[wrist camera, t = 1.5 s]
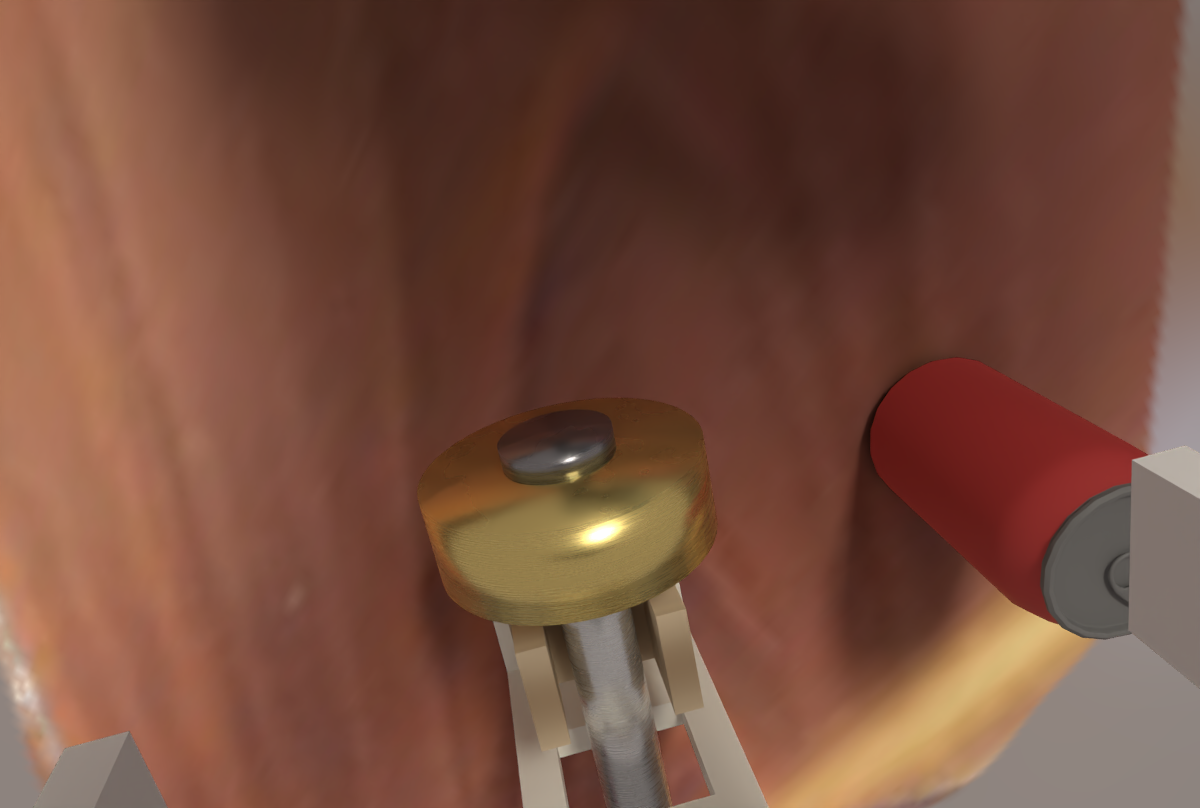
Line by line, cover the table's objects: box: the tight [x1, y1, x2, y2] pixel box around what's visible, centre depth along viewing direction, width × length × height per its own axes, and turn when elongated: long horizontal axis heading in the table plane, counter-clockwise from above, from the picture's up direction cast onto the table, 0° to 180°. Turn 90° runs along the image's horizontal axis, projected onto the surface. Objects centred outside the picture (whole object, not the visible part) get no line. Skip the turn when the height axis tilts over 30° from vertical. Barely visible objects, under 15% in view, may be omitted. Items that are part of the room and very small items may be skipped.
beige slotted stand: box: [493, 582, 769, 808], centre depth 33 cm, size 8×8×16 cm
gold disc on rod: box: [417, 398, 717, 808], centre depth 32 cm, size 18×9×9 cm, turn 11°
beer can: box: [870, 357, 1148, 639], centre depth 34 cm, size 7×7×12 cm
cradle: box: [509, 585, 704, 752], centre depth 34 cm, size 4×6×10 cm, turn 101°
